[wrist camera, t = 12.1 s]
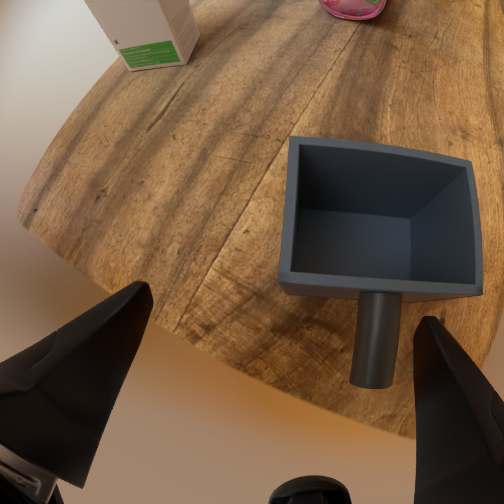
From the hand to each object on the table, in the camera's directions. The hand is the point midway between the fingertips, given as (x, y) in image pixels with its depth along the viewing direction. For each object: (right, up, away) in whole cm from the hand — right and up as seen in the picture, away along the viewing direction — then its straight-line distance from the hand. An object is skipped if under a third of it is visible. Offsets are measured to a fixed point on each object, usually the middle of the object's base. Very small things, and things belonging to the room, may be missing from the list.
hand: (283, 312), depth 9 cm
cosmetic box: (-11, +26, +21) cm, 35 cm away
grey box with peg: (+7, 0, +12) cm, 14 cm away
